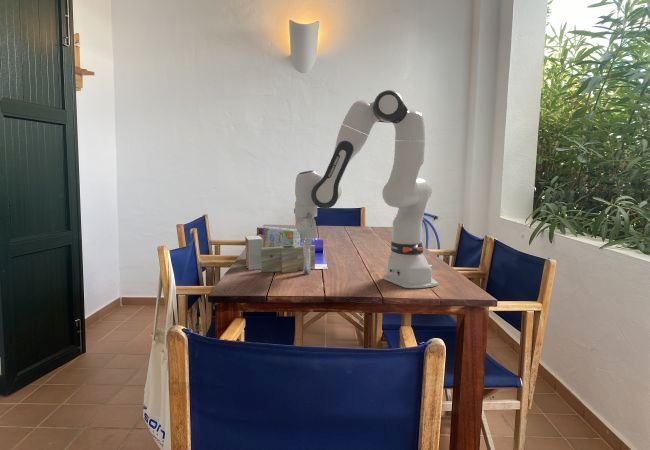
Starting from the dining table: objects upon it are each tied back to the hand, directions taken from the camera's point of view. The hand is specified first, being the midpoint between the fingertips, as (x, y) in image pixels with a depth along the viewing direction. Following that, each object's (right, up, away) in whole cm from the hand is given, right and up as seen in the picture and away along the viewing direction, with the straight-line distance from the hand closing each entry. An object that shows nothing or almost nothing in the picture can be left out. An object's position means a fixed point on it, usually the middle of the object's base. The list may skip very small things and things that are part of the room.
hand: (305, 245), depth 192 cm
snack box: (-13, -8, +26) cm, 30 cm away
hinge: (-7, -11, +8) cm, 15 cm away
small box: (-22, -10, +13) cm, 28 cm away
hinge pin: (0, -11, +2) cm, 12 cm away
